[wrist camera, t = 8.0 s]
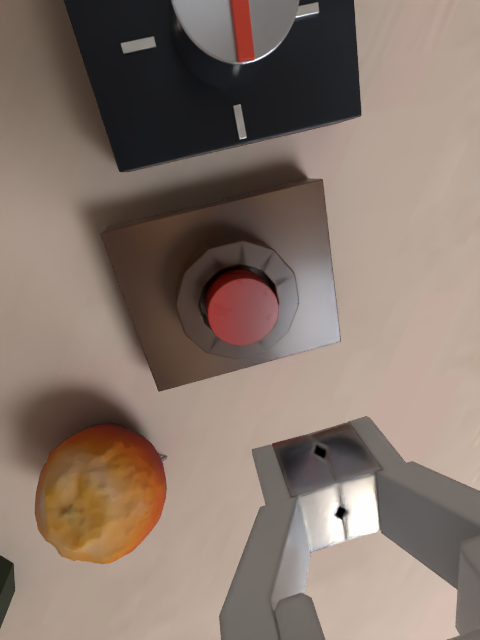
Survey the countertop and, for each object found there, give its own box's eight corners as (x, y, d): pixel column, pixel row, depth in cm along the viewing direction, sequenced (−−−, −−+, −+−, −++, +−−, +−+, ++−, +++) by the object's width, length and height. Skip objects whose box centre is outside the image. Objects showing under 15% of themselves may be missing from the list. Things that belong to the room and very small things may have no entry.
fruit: (139, 534, 28) (67, 618, 20) (76, 453, 29) (-15, 504, 21) (212, 467, 26) (166, 530, 18) (142, 386, 28) (71, 413, 20)
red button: (214, 339, 20) (217, 353, 19) (197, 278, 19) (199, 288, 17) (275, 322, 20) (284, 335, 19) (264, 261, 19) (272, 269, 17)
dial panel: (127, 172, 20) (118, 172, 17) (59, -43, 16) (33, -91, 13) (337, 123, 20) (363, 115, 17) (317, -93, 17) (346, -148, 14)
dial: (158, -34, 14) (151, -112, 10) (265, -45, 15) (298, -125, 11) (181, 95, 16) (183, 69, 12) (277, 81, 16) (309, 53, 12)
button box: (160, 374, 24) (157, 409, 21) (107, 227, 20) (92, 239, 17) (328, 328, 25) (353, 354, 22) (309, 178, 21) (336, 179, 18)
